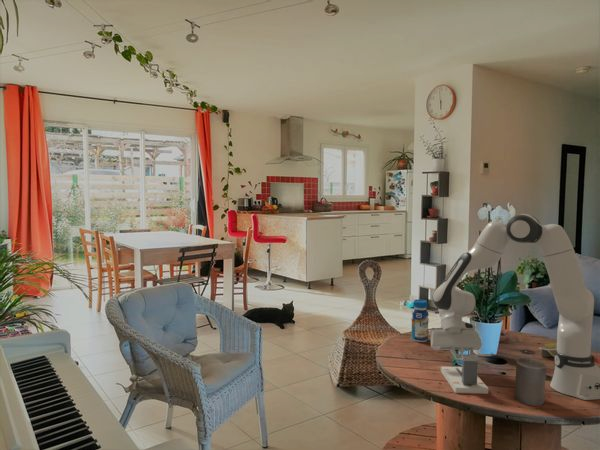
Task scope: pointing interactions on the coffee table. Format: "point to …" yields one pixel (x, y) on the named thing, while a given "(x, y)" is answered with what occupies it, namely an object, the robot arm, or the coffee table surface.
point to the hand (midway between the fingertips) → (458, 359)
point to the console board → (455, 381)
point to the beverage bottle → (420, 321)
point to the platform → (549, 349)
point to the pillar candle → (530, 381)
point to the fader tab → (469, 369)
